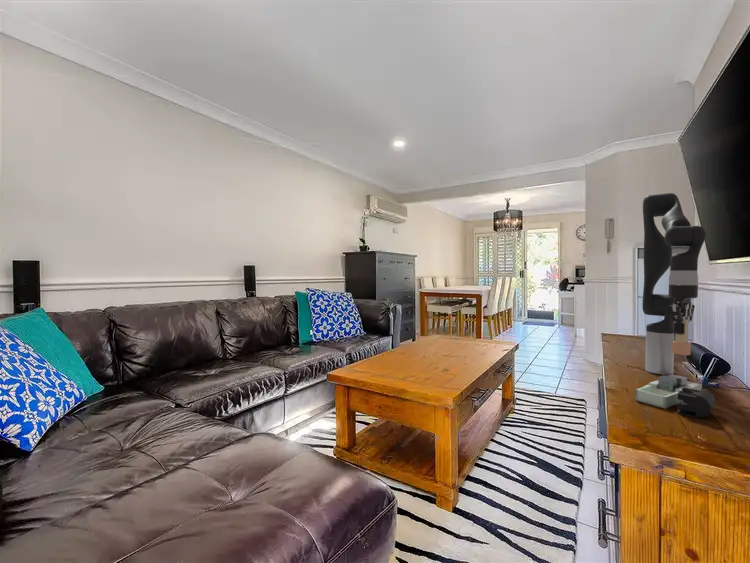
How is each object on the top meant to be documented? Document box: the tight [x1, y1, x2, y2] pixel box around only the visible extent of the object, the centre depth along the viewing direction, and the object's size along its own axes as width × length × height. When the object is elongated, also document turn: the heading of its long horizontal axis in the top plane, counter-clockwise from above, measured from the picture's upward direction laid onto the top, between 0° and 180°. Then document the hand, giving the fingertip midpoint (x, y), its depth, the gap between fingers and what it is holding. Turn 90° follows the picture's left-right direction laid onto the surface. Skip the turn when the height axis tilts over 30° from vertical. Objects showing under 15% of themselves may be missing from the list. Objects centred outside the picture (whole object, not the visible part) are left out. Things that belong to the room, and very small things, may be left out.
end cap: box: [676, 388, 716, 419], centre depth 100 cm, size 10×7×7 cm
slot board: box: [643, 379, 707, 404], centre depth 116 cm, size 15×12×4 cm
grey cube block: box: [667, 373, 688, 388], centre depth 115 cm, size 4×4×4 cm
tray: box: [634, 384, 681, 409], centre depth 110 cm, size 10×8×4 cm
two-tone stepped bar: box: [672, 319, 692, 356], centre depth 118 cm, size 3×4×12 cm
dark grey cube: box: [657, 374, 678, 392], centre depth 114 cm, size 4×4×4 cm
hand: (681, 333), depth 118 cm, fingers closed on two-tone stepped bar, 2 cm apart
